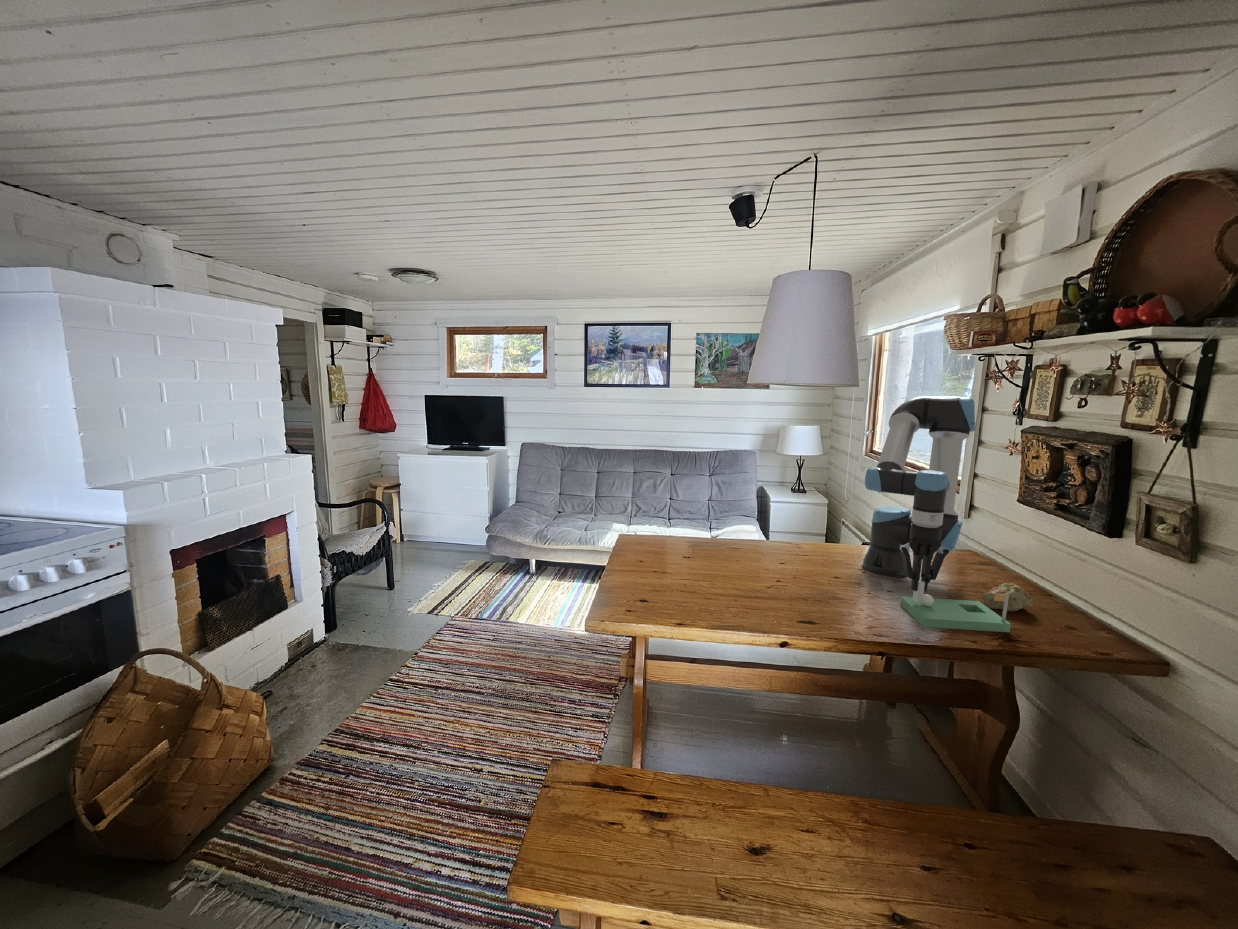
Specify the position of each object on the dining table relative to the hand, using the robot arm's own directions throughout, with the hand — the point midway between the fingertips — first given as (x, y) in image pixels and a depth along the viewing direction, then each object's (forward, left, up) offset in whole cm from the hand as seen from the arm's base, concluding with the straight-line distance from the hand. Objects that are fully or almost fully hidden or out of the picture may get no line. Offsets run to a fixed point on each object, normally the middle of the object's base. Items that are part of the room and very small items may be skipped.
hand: (917, 600), depth 137 cm
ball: (0, +2, 0) cm, 3 cm away
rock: (-9, +29, -4) cm, 30 cm away
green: (+2, +9, -4) cm, 10 cm away
